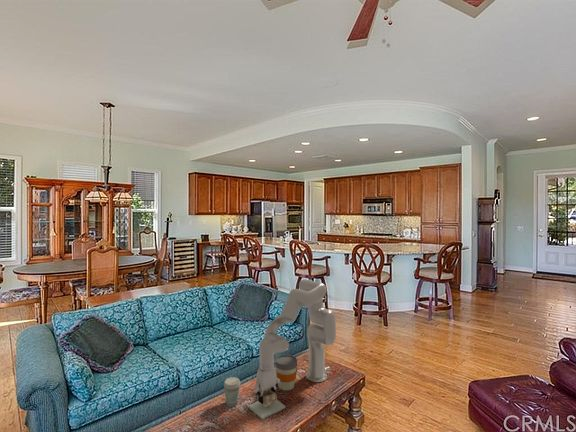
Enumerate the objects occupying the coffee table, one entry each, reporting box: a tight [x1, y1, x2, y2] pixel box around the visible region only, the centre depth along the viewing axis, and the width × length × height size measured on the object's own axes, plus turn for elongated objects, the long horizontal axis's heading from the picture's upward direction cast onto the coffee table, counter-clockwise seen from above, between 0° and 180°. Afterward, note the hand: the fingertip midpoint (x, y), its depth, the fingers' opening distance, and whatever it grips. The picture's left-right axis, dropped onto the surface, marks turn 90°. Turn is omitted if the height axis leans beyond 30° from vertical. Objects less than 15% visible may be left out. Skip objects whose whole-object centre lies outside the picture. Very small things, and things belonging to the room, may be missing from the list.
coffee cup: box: [223, 376, 241, 408], centre depth 166 cm, size 8×8×12 cm
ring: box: [256, 388, 278, 407], centre depth 163 cm, size 7×7×4 cm
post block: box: [248, 395, 286, 420], centre depth 163 cm, size 14×12×6 cm
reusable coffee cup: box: [274, 354, 298, 391], centre depth 183 cm, size 13×13×15 cm
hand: (267, 399), depth 163 cm, fingers closed on ring, 6 cm apart
